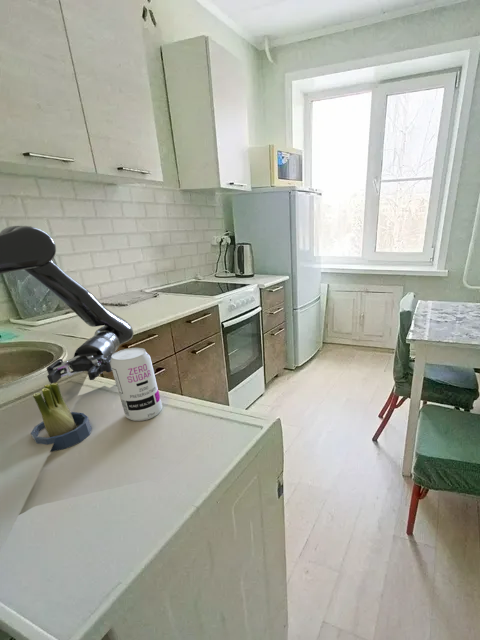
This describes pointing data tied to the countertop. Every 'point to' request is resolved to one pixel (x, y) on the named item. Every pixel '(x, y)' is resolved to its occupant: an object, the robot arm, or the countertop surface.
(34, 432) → the ring
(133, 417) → the supplement can
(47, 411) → the fennel bulb
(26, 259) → the robot arm
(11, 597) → the countertop surface
